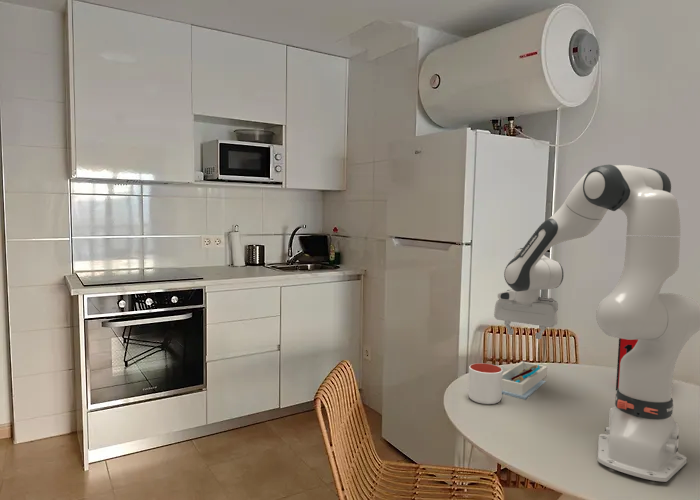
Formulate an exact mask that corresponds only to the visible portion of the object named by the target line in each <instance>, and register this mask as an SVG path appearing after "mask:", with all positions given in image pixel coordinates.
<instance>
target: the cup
mask: <svg viewBox="0 0 700 500" xmlns="http://www.w3.org/2000/svg"><path fill="white" fill-rule="evenodd" d="M503 373H504V372H503V368H502V367H500V366H498V365H495V364H491V363H479V362H478V363H477V362H476V363H473V364H470V365H469V367H468V387H467V389H468V390H467V395H468V397H469V399H470V400H471V401H473V402H475V403H478V404H483V405H495V404H497V403H500V401H501V399H502V397H503V396H502V395H503V394H502V374H503Z"/></svg>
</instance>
